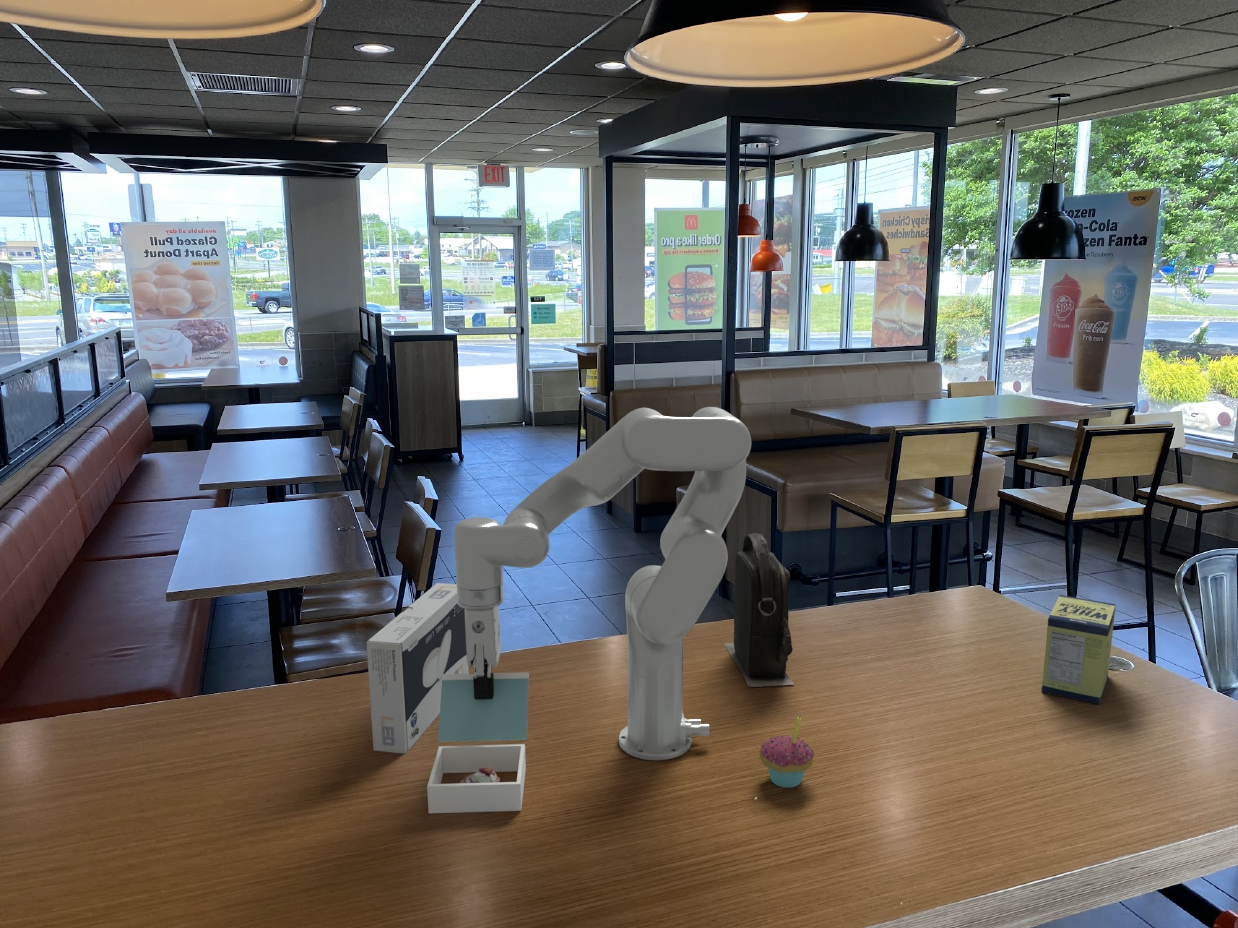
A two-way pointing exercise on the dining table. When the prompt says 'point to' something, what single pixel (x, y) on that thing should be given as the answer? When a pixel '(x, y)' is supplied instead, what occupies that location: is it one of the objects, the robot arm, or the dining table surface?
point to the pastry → (482, 776)
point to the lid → (483, 709)
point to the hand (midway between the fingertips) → (484, 696)
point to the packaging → (414, 667)
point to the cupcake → (786, 758)
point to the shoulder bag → (761, 615)
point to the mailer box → (477, 794)
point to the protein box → (1078, 649)
